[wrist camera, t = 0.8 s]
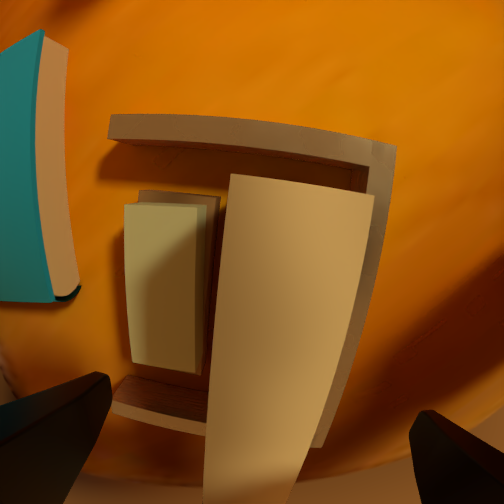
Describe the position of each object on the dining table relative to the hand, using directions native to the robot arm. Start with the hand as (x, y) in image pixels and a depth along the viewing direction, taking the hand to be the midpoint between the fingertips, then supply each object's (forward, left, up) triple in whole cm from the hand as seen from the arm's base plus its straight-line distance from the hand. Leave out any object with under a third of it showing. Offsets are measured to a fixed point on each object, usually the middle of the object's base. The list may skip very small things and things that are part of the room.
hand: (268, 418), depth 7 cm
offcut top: (+5, 0, -8) cm, 10 cm away
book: (+26, -4, -11) cm, 28 cm away
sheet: (0, 0, -10) cm, 10 cm away
